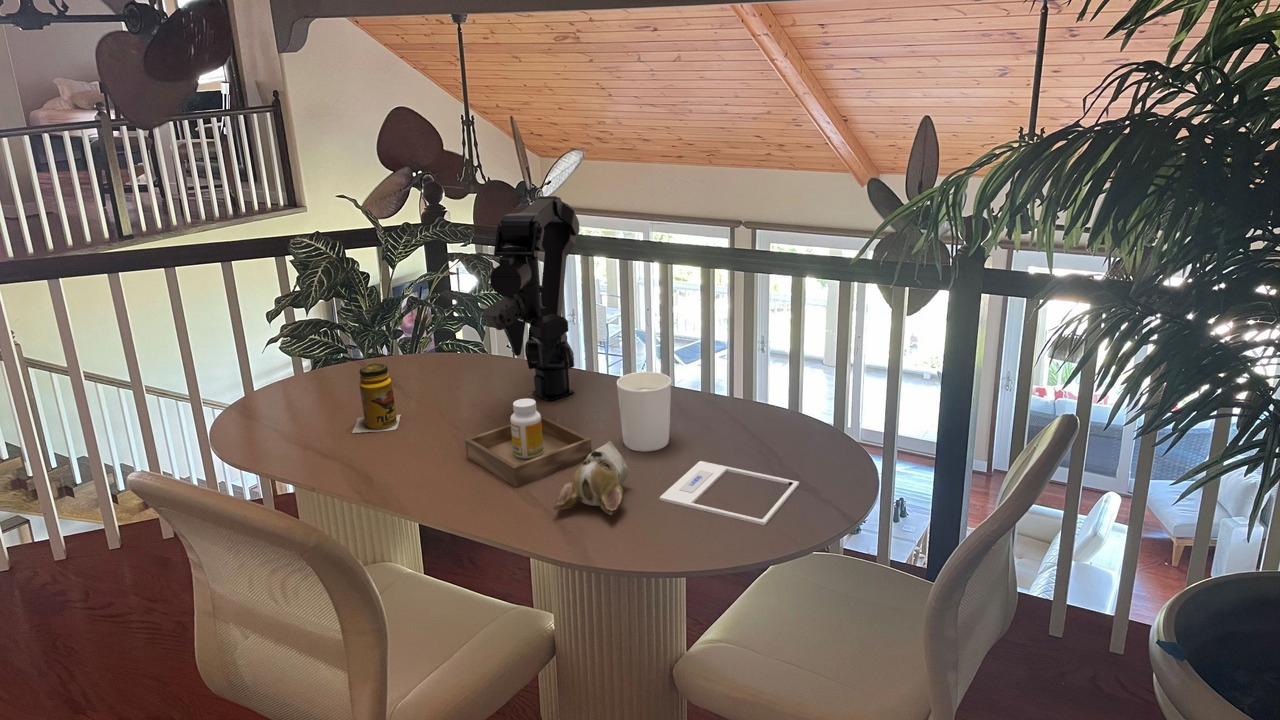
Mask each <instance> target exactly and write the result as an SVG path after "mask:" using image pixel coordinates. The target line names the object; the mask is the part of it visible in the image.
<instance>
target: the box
mask: <svg viewBox="0 0 1280 720" xmlns="http://www.w3.org/2000/svg"><path fill="white" fill-rule="evenodd" d="M540 415H541V414H540ZM541 423H542V436H543V453H542V454H541V455H540V456H538V457H535V458H530V459H522V458H518V457H516V456H515V455H514V453H513V444H512V433H511V423H510V424H509V423H508V424H507V425H503V426H501V427H498V428H495V429H492V430H490V431H486V432H483V433H479V434H476V435H475V436H470V437H468V438H465V439H464V443H465V452H466V458H467V459H469V460H470V461H472V462H474V463H476V464H477V465H479V466H480V467H482V468H483V469H484V470H487V471H489V472H490V473H492V474H494V475H495V476H497V477H499V478H500V479H502V480H503V481H505V482H507V483H508V484H510V485H512V486H514V487H515V488H517V487H518V488H519V487H520V486H523V485H525V484H528V483H531V482H532V481H536V480H539V479H540V478H544V477H546V476H548V475H551V474H553V473H556V472H558V471H560V470H563V469H566V468H568V467H571V466H574V465H575V464H579V463H583V462H584V461H585V460H586V458H587V456H588V455H589V454H590V453H592V452H593V451H592V450H593V449H592V439H591V438H589V437H587V436H585V435H582V434H581V433H579V432H576V431H575V430H573V429H571V428H569V427H566V426H564V425H562V424H560V423H558V422H556V421H554V420H552V419H551V418H548V417H545V416H544V415H541Z"/></svg>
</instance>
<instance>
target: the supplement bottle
mask: <svg viewBox="0 0 1280 720" xmlns="http://www.w3.org/2000/svg"><path fill="white" fill-rule="evenodd" d="M512 410H513V413H512V414H511V416H510V424H511V433H512V444H513V453H514V455H515V456H516V457H518V458H522V459H530V458H535V457H538V456H540V455H541V454H542V453H543V436H542V423H541V413H540V412H539V411H538V410H537V402H536V400H535V399H534V398H520V399H517V400H515V401H513V403H512Z"/></svg>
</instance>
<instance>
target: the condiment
mask: <svg viewBox="0 0 1280 720" xmlns="http://www.w3.org/2000/svg"><path fill="white" fill-rule="evenodd" d="M359 375H360V376H359V379H360V381H359V390H360V398H361V404H362V405H361V406H362V410H363V411H362V412H363V417H357V419H356V422H355V425H354V428H353V429H352V432H351V434H359V433H368V432H371V433H373V432H388V431H396V430H397V429H398V426H399V424H400V420H401V414H397V413H396V412H397V411H396V405H395V397H394V391H393V382H392V379H391V378H390V373H389V369H388V366H387V365H386V364H383V363H369V364H366V365H363V366H362V367H360V369H359Z"/></svg>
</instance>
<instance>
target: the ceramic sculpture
mask: <svg viewBox="0 0 1280 720" xmlns="http://www.w3.org/2000/svg"><path fill="white" fill-rule="evenodd" d="M628 474H629V467H628V465H627V464H626V461H625V459H624V457H623V456H622V454H621V453H620V452H619V450H618V449H617V447H615V445H614V444H613V442H612V441H611V440H608V441H607V442H606V443H604V444H603V445H602V446H600V447H598V448H596V449H595V450H594V451H592V453H590V454H589V455H588V456H587V458H586V460H584V461H582V462H581V464H580V465H579V466H578V468H577V470H576V471H575V473H574V476H573V477H572V480H570V481H568V482H566V483H565V484H563V485H562V487H561V489H559V491H558V494H557V498H556V502H555V504H554V505H553V510H557V511H558V510H565V509H566V510H567V509H570V508H573V507H574V506H576V504H577V502H578V500H580V502H581V503H583V504H585V505H587V506H594V507H600V509H601V510H602V511H604V512H605V513H606V514H608V515H609V516H612V515H614V514H615V513H617V512H618V511H619V510H620V509H621V507H622V504H623V501H624V495H625V494H624V493H625V492H624V489H623V487H622V486H621V485H623V484H624V483H625V481H626V480H627V478H628Z"/></svg>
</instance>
